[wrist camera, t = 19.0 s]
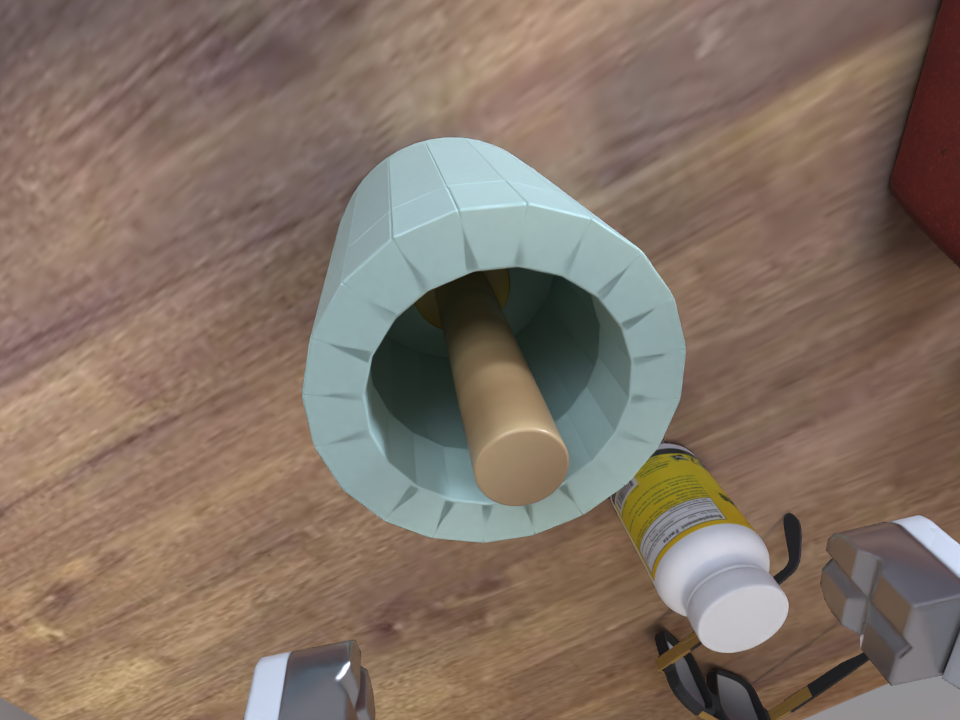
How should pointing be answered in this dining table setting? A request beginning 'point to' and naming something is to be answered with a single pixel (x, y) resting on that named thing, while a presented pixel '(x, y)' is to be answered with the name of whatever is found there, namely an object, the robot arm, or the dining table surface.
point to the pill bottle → (701, 551)
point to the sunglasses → (728, 697)
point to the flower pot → (935, 140)
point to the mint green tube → (531, 316)
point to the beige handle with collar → (496, 391)
